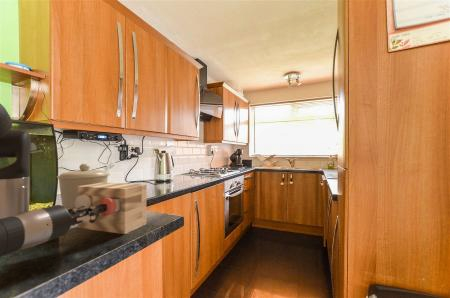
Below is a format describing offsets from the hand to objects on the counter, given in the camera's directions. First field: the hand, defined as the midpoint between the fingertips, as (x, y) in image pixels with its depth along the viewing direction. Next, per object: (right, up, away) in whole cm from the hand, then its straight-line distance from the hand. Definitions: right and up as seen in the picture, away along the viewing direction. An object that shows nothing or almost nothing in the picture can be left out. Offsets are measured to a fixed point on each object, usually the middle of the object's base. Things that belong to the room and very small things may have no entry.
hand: (104, 207), depth 64 cm
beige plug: (-9, -3, +10) cm, 14 cm away
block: (-3, -9, +10) cm, 14 cm away
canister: (-22, -10, +24) cm, 33 cm away
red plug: (+1, -3, +4) cm, 5 cm away
